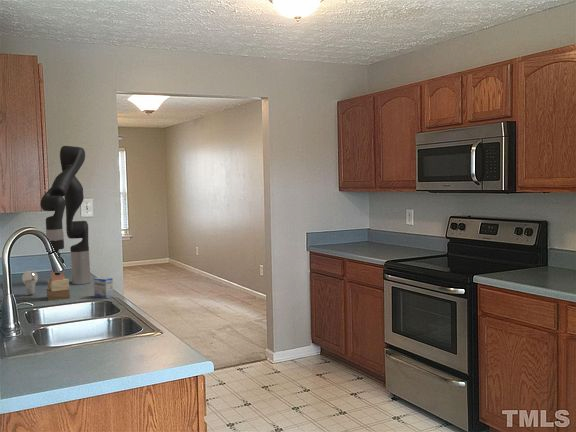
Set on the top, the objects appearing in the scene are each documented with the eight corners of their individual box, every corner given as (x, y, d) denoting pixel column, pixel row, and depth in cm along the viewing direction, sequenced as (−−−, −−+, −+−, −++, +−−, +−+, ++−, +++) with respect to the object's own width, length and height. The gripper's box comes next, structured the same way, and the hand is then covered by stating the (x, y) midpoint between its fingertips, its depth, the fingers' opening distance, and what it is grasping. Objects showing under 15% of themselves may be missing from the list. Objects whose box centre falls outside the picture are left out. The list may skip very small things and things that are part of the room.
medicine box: (94, 297, 256) (93, 278, 256) (101, 295, 260) (100, 276, 260) (106, 298, 253) (105, 279, 252) (113, 296, 256) (112, 277, 256)
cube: (51, 279, 258) (50, 268, 257) (63, 278, 260) (62, 267, 260) (52, 280, 253) (51, 269, 253) (63, 279, 255) (63, 268, 255)
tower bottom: (47, 298, 259) (46, 288, 258) (67, 296, 263) (67, 286, 262) (48, 301, 251) (48, 291, 250) (69, 299, 255) (69, 289, 254)
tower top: (48, 289, 257) (47, 279, 257) (64, 286, 262) (64, 277, 261) (52, 291, 251) (51, 281, 251) (69, 289, 256) (68, 279, 255)
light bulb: (35, 293, 270) (34, 268, 270) (41, 294, 265) (39, 270, 265) (20, 295, 265) (19, 270, 265) (26, 297, 261) (24, 271, 260)
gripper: (45, 238, 260) (47, 272, 261) (46, 240, 247) (48, 276, 248) (62, 237, 263) (64, 271, 264) (64, 239, 251) (66, 275, 252)
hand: (56, 273), depth 256 cm, fingers open, 8 cm apart
